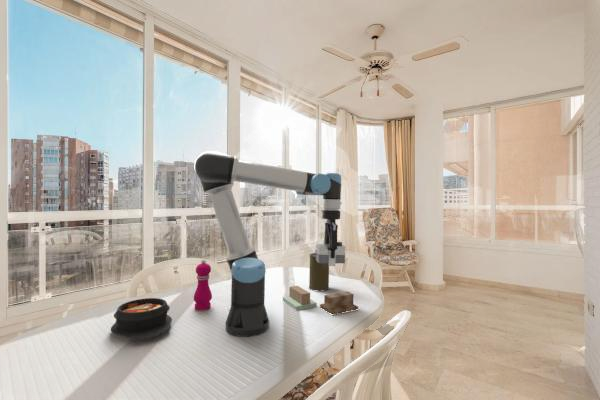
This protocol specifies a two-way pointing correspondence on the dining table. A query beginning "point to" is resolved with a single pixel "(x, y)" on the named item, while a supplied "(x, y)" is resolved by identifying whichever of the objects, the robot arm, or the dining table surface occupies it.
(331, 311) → the stand
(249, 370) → the dining table surface
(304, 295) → the stand
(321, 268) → the canister
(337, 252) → the cover plate
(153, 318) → the casserole
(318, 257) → the base plate
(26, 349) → the dining table surface
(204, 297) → the pepper mill
